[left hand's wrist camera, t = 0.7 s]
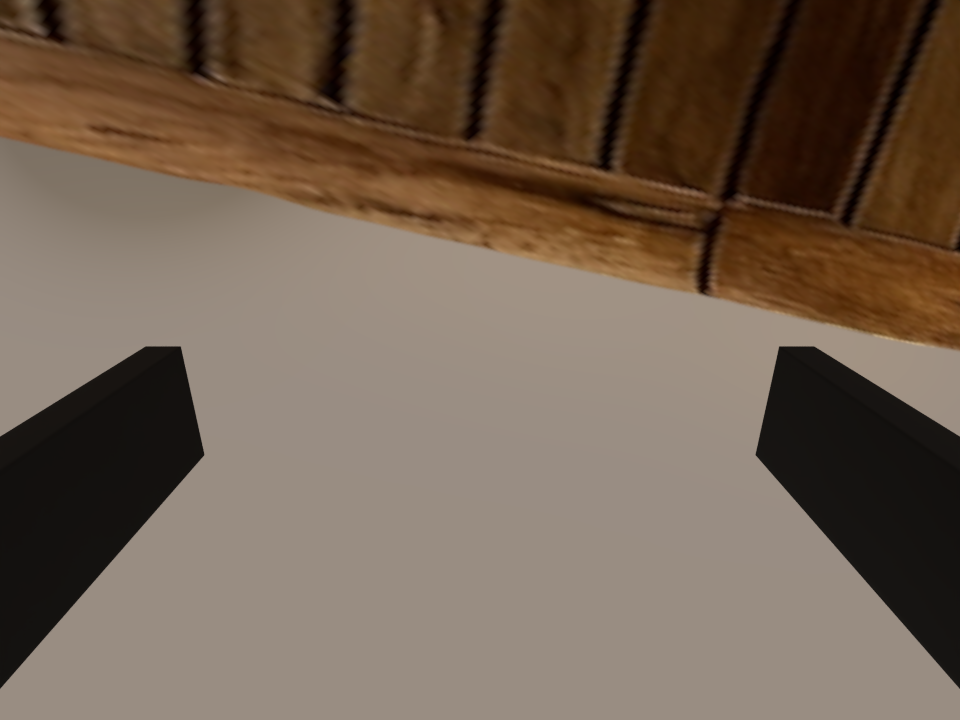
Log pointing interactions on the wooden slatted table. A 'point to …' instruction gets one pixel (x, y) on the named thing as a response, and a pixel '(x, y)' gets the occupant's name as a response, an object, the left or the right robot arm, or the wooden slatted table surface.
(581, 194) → the wooden slatted table surface
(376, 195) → the wooden slatted table surface
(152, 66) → the wooden slatted table surface
